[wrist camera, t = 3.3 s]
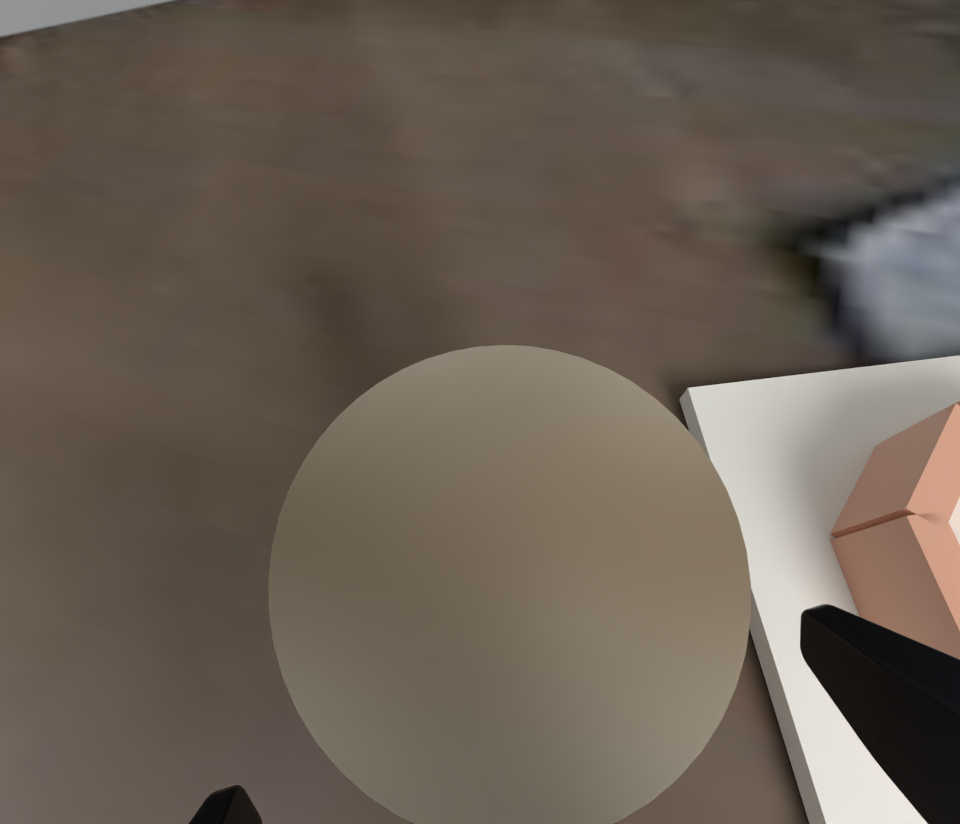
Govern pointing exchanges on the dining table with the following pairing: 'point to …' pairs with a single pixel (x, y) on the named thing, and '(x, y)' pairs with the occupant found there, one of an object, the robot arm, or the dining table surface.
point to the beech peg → (509, 591)
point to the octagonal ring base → (841, 540)
